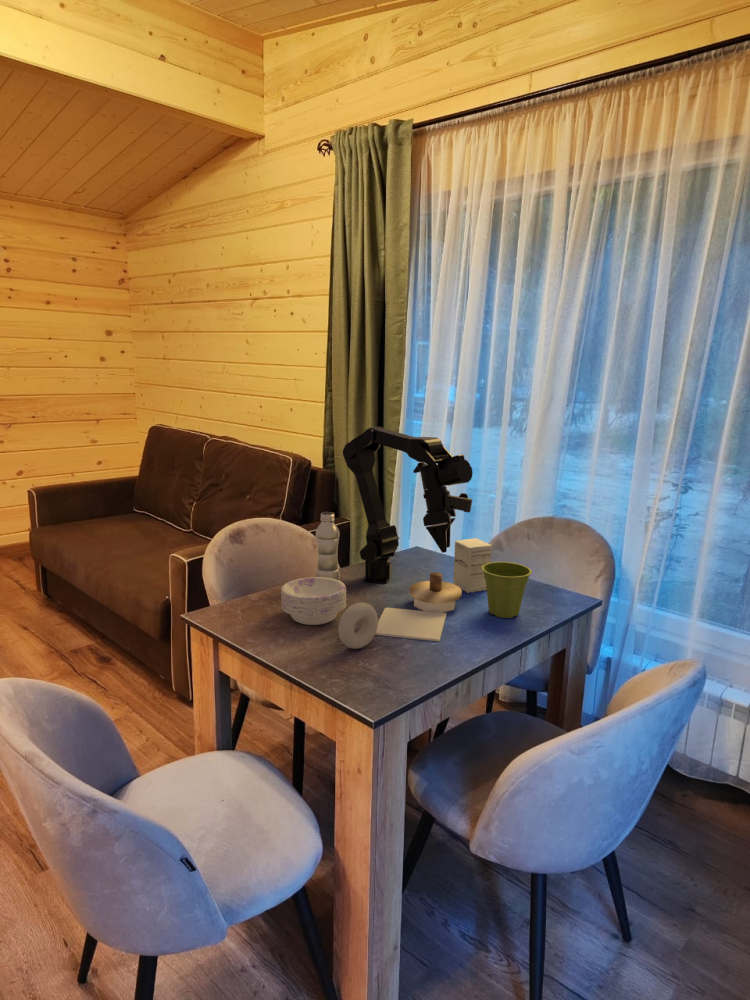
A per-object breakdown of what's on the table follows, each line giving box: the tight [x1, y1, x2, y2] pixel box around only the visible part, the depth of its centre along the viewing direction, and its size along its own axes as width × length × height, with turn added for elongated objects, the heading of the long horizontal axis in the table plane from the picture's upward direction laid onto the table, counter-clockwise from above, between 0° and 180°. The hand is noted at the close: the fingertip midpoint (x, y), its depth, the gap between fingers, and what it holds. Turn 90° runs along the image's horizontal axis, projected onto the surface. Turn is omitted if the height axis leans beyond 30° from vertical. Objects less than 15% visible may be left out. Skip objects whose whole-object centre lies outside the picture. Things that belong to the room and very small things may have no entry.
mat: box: [374, 607, 447, 642], centre depth 147 cm, size 15×15×1 cm
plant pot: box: [482, 561, 533, 619], centre depth 154 cm, size 12×12×11 cm
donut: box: [337, 602, 379, 650], centre depth 134 cm, size 10×4×10 cm, turn 131°
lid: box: [408, 571, 463, 603], centre depth 158 cm, size 13×13×5 cm
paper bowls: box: [280, 576, 347, 626], centre depth 150 cm, size 15×15×8 cm
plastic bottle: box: [315, 511, 341, 581], centre depth 170 cm, size 6×7×20 cm
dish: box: [413, 598, 457, 613], centre depth 159 cm, size 10×10×4 cm
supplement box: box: [452, 537, 493, 594], centre depth 171 cm, size 7×7×13 cm
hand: (446, 549), depth 158 cm, fingers open, 9 cm apart
